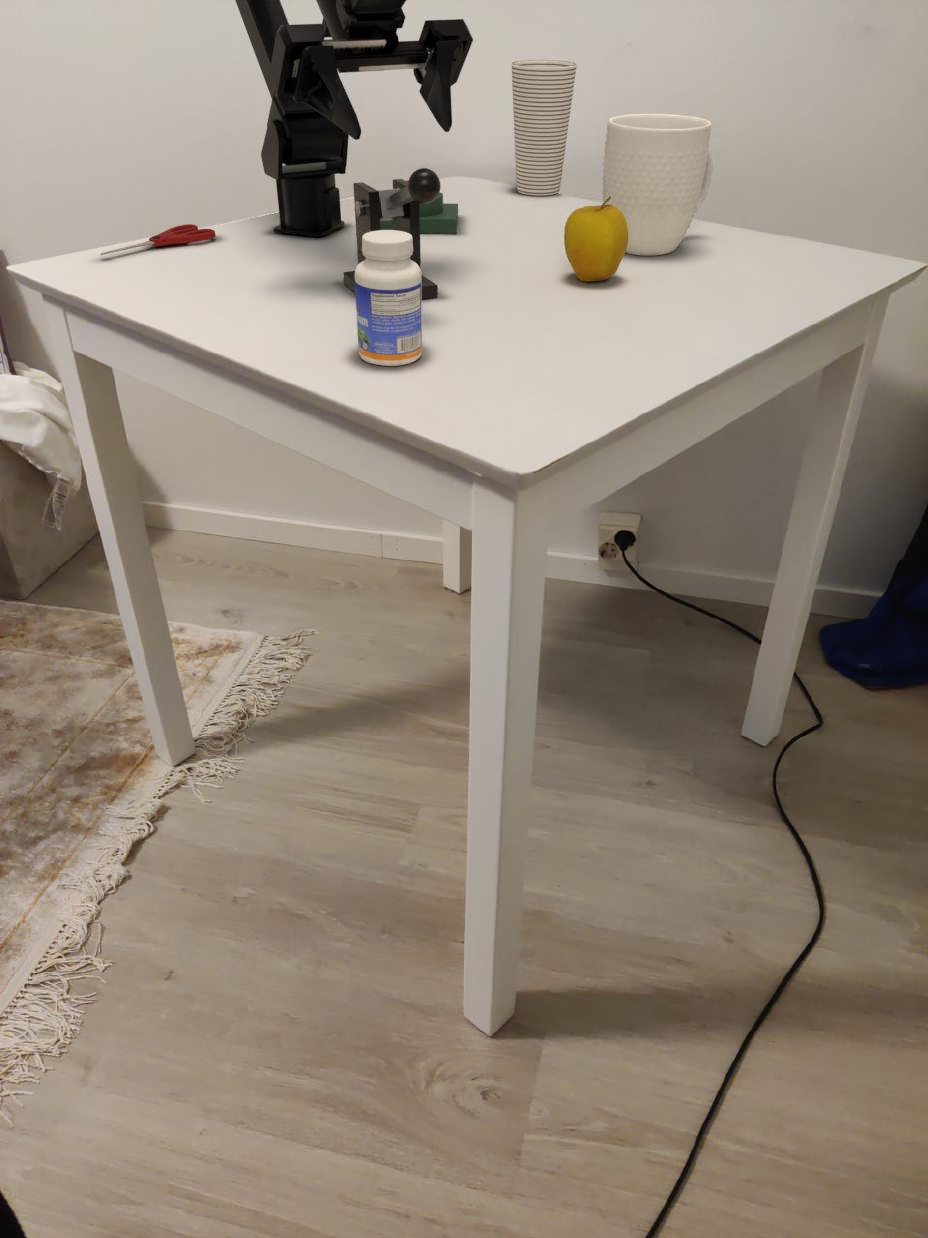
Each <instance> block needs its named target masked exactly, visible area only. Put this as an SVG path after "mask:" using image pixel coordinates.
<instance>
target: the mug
mask: <svg viewBox="0 0 928 1238" xmlns="http://www.w3.org/2000/svg"><path fill="white" fill-rule="evenodd" d="M606 126H607V127H606V135H605V141H604V142H605V143H604V146H605V147H604V156H603V164H602V165H603V170H602V172H603V173H602V174H603V175H602V200H603V203H604V202H605V201H606V200H607V199H608V198H609V197H610V196H611V199H610V200H609V201H608V202H606V203H605V205H613V206H615V207H616V208H618V209H619V210H620V211H621V212H622V213H623V215H624V217H625V220H626V223H627V227H628V245H627V248H626V251H625V254H630V255H634V256H648V257H649V256H652V257H653V256H663V255H666V254H670V253H673V252H675V250H676V249H677V248H678V246H679V245H680V243H682V240H683V239H684V237H685V236H686V235H687V233H688V230H689V228H690V226H691V223H692V221H693V218H694V217H695V214H696V213H697V212H698V211H699V210H700V208H701V206H702V205H703V203H704V202H705V199H706V197H707V194H708V192H709V189H710V185H711V181H712V176H713V158H712V153H711V150H710V140H711V139H710V138H711V131H712V122H711V121H710V120H708V119H706V118H702V117H698V116H692V115H685V114H684V115H682V114H672V113H631V114H621V115H617V116H612V117H610V118H608V120H607V125H606Z"/></svg>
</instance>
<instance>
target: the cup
mask: <svg viewBox="0 0 928 1238" xmlns="http://www.w3.org/2000/svg"><path fill="white" fill-rule="evenodd" d="M577 66H578V65H577V63H576V62H572V61H567V60H566V61H565V60H556V59H555V60H554V59H553V60H552V59H551V60H550V59H527V60H526V59H525V60H518V61H517V60H516V61H513V62H511V84H512V86H511V87H512V108H513V109H512V111H513V135H514V136H513V137H514V157H515V158H514V163H515V183H516V186H515V187H516V192H517V193H520V194H521V195H522V194H523V195H526V196H536V197H544V196H545V197H546V196H552V195H556V194H558V193H559V192H560V189H561V183H562V175H563V169H564V168H563V167H564V160H565V154H566V145H567V139H568V132H569V131H568V130H569V126H570V125H569V123H570V118H571V117H570V116H571V109H572V103H573V102H572V101H573V94H574V87H575V81H576V74H577Z"/></svg>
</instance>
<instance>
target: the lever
mask: <svg viewBox="0 0 928 1238" xmlns="http://www.w3.org/2000/svg"><path fill="white" fill-rule="evenodd" d="M408 180H409V181H408V186H407V187H405V188H403V189H401V190H400V189H393V188H391V189H390V188H389V189H378V191H379V206H380V221H390V220H395V219H398V218H400V217H402V216H404V212H403V205H405V204H407V203H409V202H411V201H413V200H415V201H416V202H418V203H421V204H428V203H431V202H433V201H434V200H435V199H436V198H437V197H438V195H439V192H440V193H441V188H442V187H441V181H440V178H439V176H438V175H437V173H436V172H435V171H433V170H432V169H430V168H426V167H421V168H417V169H416V170H415V171H413V172H412V173H411V175H410V176H409V178H408Z"/></svg>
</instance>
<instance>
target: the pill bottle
mask: <svg viewBox="0 0 928 1238" xmlns="http://www.w3.org/2000/svg"><path fill="white" fill-rule="evenodd" d="M362 252H363V255H364V256H365V257H366V259H365V260H364V261H362V262H361V263H360V264H358V263H357V265H356V267H355V270H354V271H355V292H356V293H355V292H354V293H355V309H356V326H357V327H356V329H357V346H358V354H359V356H360V358H361V360H363V361H365V362H366V363H369V364H372V365H376V366H385V367H395V366H397V367H399V366H404V365H409V364H412V363H413V362H416V361H417V360H418V359H419V358H420V357H421V356H422V354H423V323H422V321H423V318H422V316H423V315H422V313H423V309H422V308H423V307H422V305H423V303H422V301H423V299H422V278H421V274H422V268H421V269H420V267H419V266H418V264H416V263H415V262H414V261H412V260H410V256H411V255H412V254H413V238H412V235H411V234H409V233H407V232H403V231H397V230H378V231H372V232H368V233H365V234H364V235H363V236H362Z"/></svg>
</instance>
